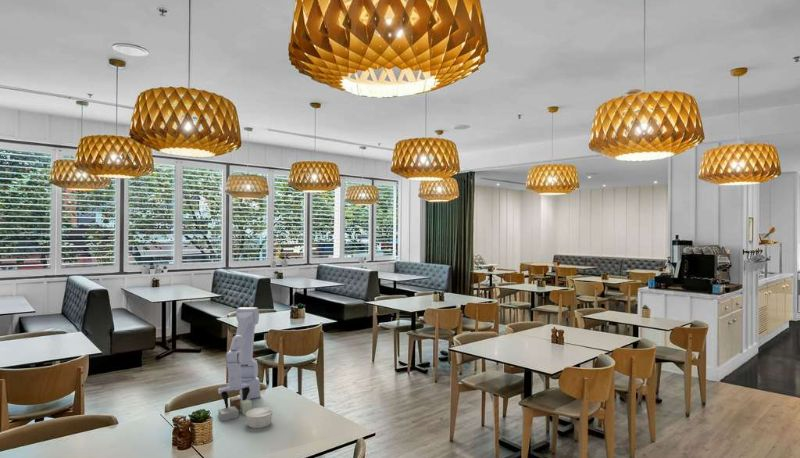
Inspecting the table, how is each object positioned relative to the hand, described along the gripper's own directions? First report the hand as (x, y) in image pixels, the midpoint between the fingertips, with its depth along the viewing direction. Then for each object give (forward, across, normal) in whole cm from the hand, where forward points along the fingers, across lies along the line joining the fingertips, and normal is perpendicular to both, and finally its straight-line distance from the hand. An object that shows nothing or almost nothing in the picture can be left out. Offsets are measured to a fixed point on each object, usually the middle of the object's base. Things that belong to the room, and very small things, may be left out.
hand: (235, 406), depth 227 cm
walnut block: (+2, 0, 0) cm, 2 cm away
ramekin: (+2, +4, -24) cm, 24 cm away
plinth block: (+1, -5, -8) cm, 10 cm away
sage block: (+2, +3, -7) cm, 8 cm away
